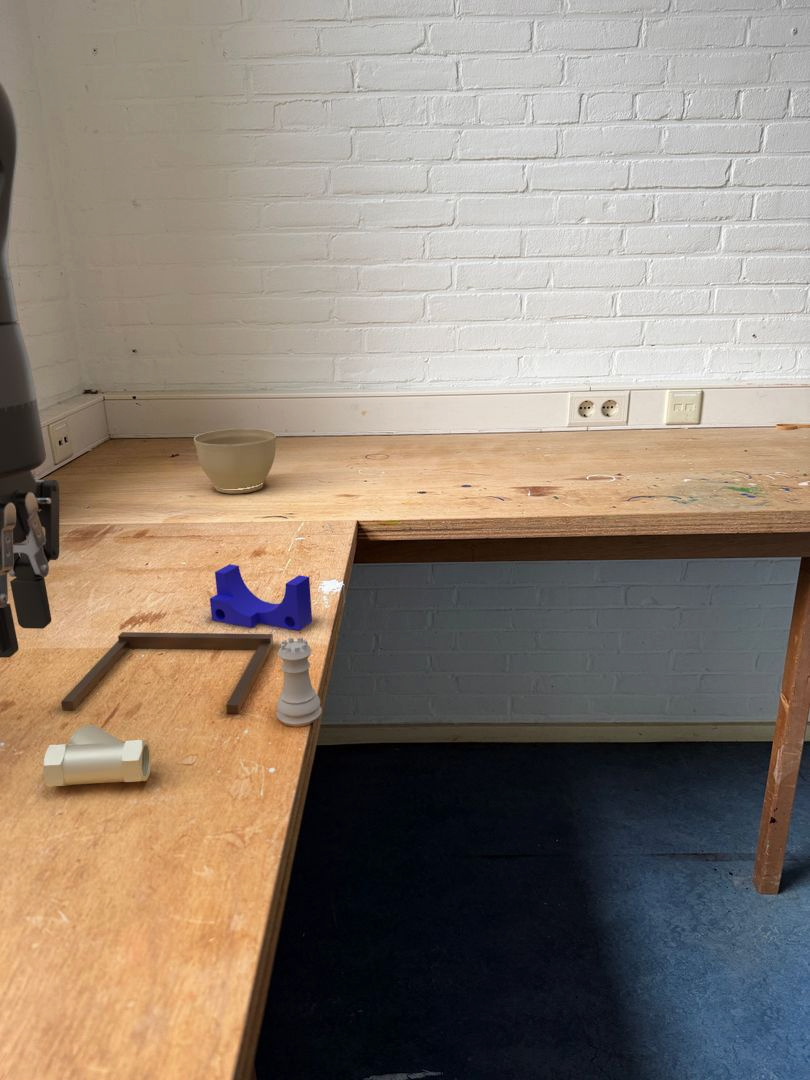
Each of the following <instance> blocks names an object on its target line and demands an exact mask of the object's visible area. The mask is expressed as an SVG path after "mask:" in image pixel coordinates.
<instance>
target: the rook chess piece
mask: <svg viewBox="0 0 810 1080" xmlns="http://www.w3.org/2000/svg"><path fill="white" fill-rule="evenodd" d="M312 652H313V649H312V648H311V646H309V644H308V640H307V639H304V637H301V636H297V640H296V641H295V639H294V637H293V636H291V637H288V641H287V640H286V639H283V640H282V641H281V643H280V648H279V649H278V651H277V656H278V657H279V658H280V659H281V660H282V664H281V667H280V669H281V670H282V671H283V686H282V691H281V692H280V694H279V697H278V699H277V702H276V705H275V707H276V714H275V715H276V717H277V719H278V720H279V721H280V723H282V724H284V725H286V726H289V727H304V726H308V725H310V724H312V723H315V722H316V721H317V719H318V718H319V717H320V716H321V715H322V711H323V708H322V707H321V703H322V701H321V699H320V697H319V695H318V693H316V690H315V689H314V688H313V685H312V682H311V676H310V668H311V663H310V661H309V659H308V658H309V657H310V656H311V654H312Z"/></svg>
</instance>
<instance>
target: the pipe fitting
mask: <svg viewBox="0 0 810 1080" xmlns="http://www.w3.org/2000/svg"><path fill="white" fill-rule="evenodd" d="M151 767H152V749H151V745H150V741H149V740H148V739H135V740H126V741H123V740H122V739H120V738H118V737H117V736H115V735H113V734H111V733H109V732H108V731H106V730H104V729H102V728H101V727H99V726H98V725H95V724H85V725H82V726H81V727H79V728H78V729H76V730H75V731H74V732H73V734H72V735H71V737H70V739H69V742H68V743H63V744H49V745H48V747H47V749H46V752H45V754H44V758H43V766H42V770H43V771H42V772H43V781H44V784H45V785H46V787H47V788H49V787H64V786H73V785H89V784H90V785H91V784H105V783H121V782H123V783H133V782H134V783H135V782H146V781H148V779H149V777H150V774H151Z"/></svg>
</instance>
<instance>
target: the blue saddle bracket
mask: <svg viewBox="0 0 810 1080" xmlns="http://www.w3.org/2000/svg"><path fill="white" fill-rule="evenodd" d="M214 577H215V587H216V594H215V595H213V596H212V597H209V606H210V614H211V621H214V622H219V623H224V624H229V625H234V626H239V627H243V628H248V629H252V628H254V627H256V626H257V625H259V624H261V625H266V626H271V627H276V628H280V629H287V630H292V631H297V632H300V631H302V630H303V629H304V628H306V627H307V626H308V625H310V624H312V622H313V614H312V613H313V612H312V598H311V596H312V595H311V583H310V582H311V581H310V576H305V575H301V574H298V575H297V576H295V577H294V578H292V579H291V580H289V581H287V582H286V583H285V591H284V596H283V599H282V600H281V602H279V603H271V602H268V601H265V600H263V599H260V598H259V597H257V595H255V594H254V593H253V592H252V591H251V590H250V589H249V588H248V586H247V585H246V583H245V581H244V579H243V577H242V574H241V570H240V565H236V564H230V563H229V564H227V565H225V566H224V567H221V568H219V569H218V570H216V571H214Z"/></svg>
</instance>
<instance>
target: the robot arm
mask: <svg viewBox="0 0 810 1080" xmlns="http://www.w3.org/2000/svg"><path fill="white" fill-rule="evenodd" d="M18 154H19V129H18V122H17V117H16V113H15V109H14V107H13V104H12V102H11V99H10V96H9V94H8V92H7V91H6V88H5V87H4V85H3V84H2V82H1V81H0V658H4V659H5V658H7V659H8V658H11V657H12V656H14V655H15V654H16V653H17V652H18V651H19V643H18V637H17V633H16V627H15V623H14V622H15V621H14V616H13V612H12V605H11V603H8V601H9V593H8V591H9V590H8V589H9V587H8V575H9V576H10V577H12V578H13V579H12V580H9V583H10V589H11V594H12V599H13V603H14V609H15V614H16V619H17V623H18V626H19V627H21V628H22V629H32V630H33V629H41V630H42V629H45V628H46V627H47V626H49V625H50V624H51V623H52V615H51V608H50V607H51V606H50V603H49V596H48V591H47V586H46V585H47V584H46V579H45V578H46V577H47V576H48V575H49V571H50V566H49V563H50V561H56V560H58V558H59V556H60V483H59V482H58V480H57V479H36V478H35V476H34V474H33V472H32V471H33V470H35V469H37V468H39V467H41V466H42V465H43V464H44V463H45V461H46V459H47V453H46V446H45V441H44V435H43V429H42V422H41V419H40V418H41V417H40V411H39V407H38V400H37V394H36V387H35V382H34V376H33V371H32V370H33V369H32V365H31V360H30V356H29V351H28V349H27V346H26V343H25V340H24V336H23V333H22V329H21V325H20V323H19V321H20V319H19V314H18V307H17V303H16V297H15V296H16V295H15V290H14V283H13V279H12V273H11V268H10V262H9V248H10V237H11V236H10V235H11V225H12V211H13V199H14V192H15V191H14V190H15V181H16V173H17V164H18Z"/></svg>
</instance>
